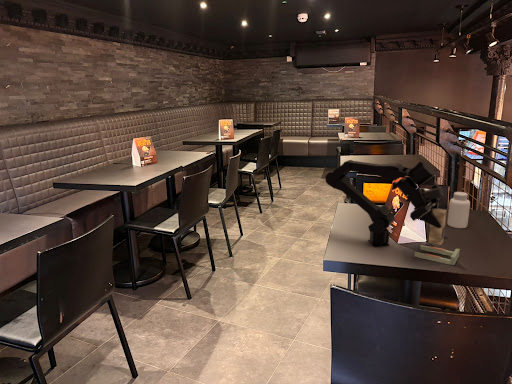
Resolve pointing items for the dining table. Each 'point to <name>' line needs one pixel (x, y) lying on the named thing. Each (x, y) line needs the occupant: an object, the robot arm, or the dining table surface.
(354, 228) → the dining table surface
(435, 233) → the birch finger
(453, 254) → the sage rail
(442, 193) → the robot arm
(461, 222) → the pill bottle
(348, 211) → the dining table surface
